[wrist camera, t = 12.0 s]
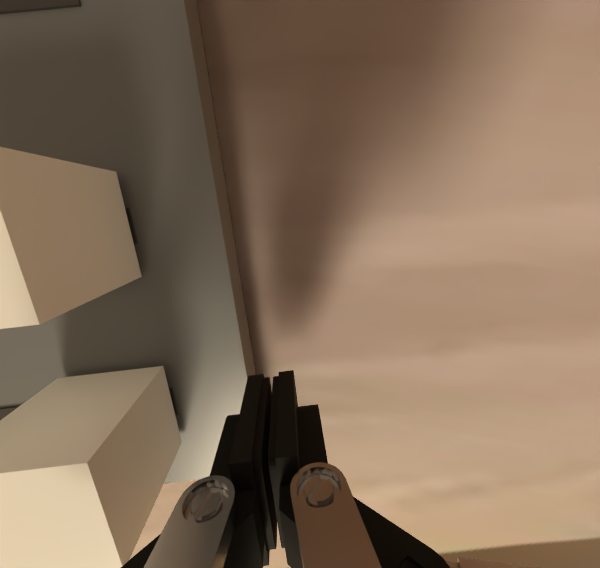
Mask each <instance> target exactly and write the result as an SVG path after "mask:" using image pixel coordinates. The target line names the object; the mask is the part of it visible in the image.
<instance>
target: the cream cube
mask: <svg viewBox="0 0 600 568" xmlns="http://www.w3.org/2000/svg"><path fill="white" fill-rule="evenodd" d="M181 443H182V441H181V437H180V433H179V429H178V424H177V420H176V416H175V412H174V408H173V404H172V400H171V396H170V391H169V387H168V383H167V379H166V375H165V371H164V367H163V366H158V367H149V368H140V369H132V370H123V371H115V372H106V373H97V374H89V375H80V376H72V377H63V378H57V379H56V380H54V381H53V382H52V383H50V384H49V385H48V386H46V387H45V388H44V389H42V390H41V391H40V392H38V393H37V394H35V395H34V396H33V397H31V398H30V399H29V400H27V401H26V402H25V403H23V404H22V405H21V406H19V407H18V408H17V409H15V410H14V411H12V412H11V413H10V414H8V415H7V416H6V417H4V418H3V419H2V420H0V568H121V567H122V566H123V565H124V564H125V563H127V562H128V561H129V559H130V557H131V555H132V552H133V550H134V548H135V546H136V543H137V541H138V539H139V537H140V534H141V532H142V530H143V528H144V526H145V523H146V521H147V519H148V517H149V514H150V512H151V510H152V508H153V506H154V503H155V501H156V499H157V497H158V494H159V492H160V490H161V488H162V485H163V483H164V481H165V479H166V477H167V474H168V472H169V470H170V468H171V465H172V463H173V461H174V459H175V457H176V454H177V452H178V450H179V448H180V445H181Z"/></svg>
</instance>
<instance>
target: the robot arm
mask: <svg viewBox="0 0 600 568" xmlns="http://www.w3.org/2000/svg"><path fill="white" fill-rule="evenodd" d="M277 522H278V528H279V534H280V541H281V547H282V548H285V551H286V557H287V563H288V565H289V566H290V567H291V568H540V567H533V566H525V565H517V564H510V563H502V562H495V561H487V560H480V559H471V558H465V557H458V562H452V561H445V560H444V559H443V558H442V557H441V556H440V555H439V554H437V553H436V552H435V551H434V550H433V549H431V548H430V547H428V546H427V545H425V544H424V543H422V542H421V541H419V540H418V539H416V538H415V537H413V536H412V535H410V534H409V533H407V532H405V531H404V530H402V529H401V528H399V527H398V526H396V525H395V524H393V523H392V522H390V521H389V520H387V519H386V518H384V517H383V516H381V515H380V514H378V513H377V512H375V511H374V510H372V509H371V508H369V507H368V506H366V505H365V504H363V503H362V502H360V501H359V500H357V499H356V498H354V497H353V496H352V493H351V491H350V488H349V486H348V483H347V481H346V478H345V477H344V475H343V473H342V472H341V471H340V470H339V469H338V468H337V467H335V466H333V465H331V464H328V462H327V456H326V450H325V444H324V438H323V432H322V426H321V420H320V414H319V408H318V404H317V405H309V406H301V407H298V403H297V395H296V387H295V379H294V372H293V370H292V371H284V372H279V376H275V377H273V389H272V391H271V384H270V378H269V377H267V378H264V375H263V374H259V375H250V376H248V378H247V383H246V387H245V392H244V396H243V401H242V405H241V410H240V414H235V415H228V416H227V417H226V420H225V423H224V427H223V430H222V434H221V437H220V441H219V444H218V448H217V452H216V455H215V459H214V462H213V466H212V469H211V473H210V476H207V477H205V478H202V479H200V480H198V481H196V482H195V483H193V484H192V485H191V486H190V487H189V488H187V489H186V490H185V491H184V493H183V494H182V496H181V497H180V499H179V500H178V502H177V504H176V506H175V508H174V510H173V512H172V514H171V516H170V518H169V520H168V522H167V523H166V525H165V527H164V529H163V531H162V533H161V534H160V535H159V536H158V537H156V538H155V539H154V540H153V541H152V542H150V543H149V544H148V545H147V546H146V547H145V548H143V549H142V550H141V551H140V552H139V553H137V554H136V555H135V556H134V557H133V558H131V559H130V560H129V561H128V562H127V563H125V564H124V565H123V566H122V567H121V568H263V566H266V565H269V551H270V549H276V544H277Z"/></svg>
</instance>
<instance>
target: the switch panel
mask: <svg viewBox="0 0 600 568" xmlns="http://www.w3.org/2000/svg"><path fill="white" fill-rule="evenodd" d="M0 147H4V148H9V149H13V150H18V151H23V152H27V153H32V154H36V155H41V156H46V157H50V158H55V159H60V160H64V161H69V162H73V163H78V164H83V165H87V166H92V167H96V168H101V169H106V170H110V171H115V172H116V173H117V177H118V181H119V185H120V189H121V193H122V197H123V202H124V206H125V210H126V214H127V218H128V222H129V226H130V230H131V235H132V239H133V243H134V247H135V251H136V255H137V259H138V264H139V268H140V272H141V276H142V277H140V278H138V279H136V280H134V281H132V282H129V283H127V284H125V285H123V286H121V287H119V288H117V289H114V290H112V291H110V292H108V293H106V294H104V295H102V296H100V297H97V298H95V299H93V300H91V301H89V302H87V303H85V304H82V305H80V306H78V307H76V308H74V309H72V310H70V311H68V312H65V313H63V314H61V315H59V316H57V317H55V318H53V319H50V320H48V321H46V322H44V323H42V324H40V325H32V326H23V327H14V328H5V329H0V420H2V419H3V418H4V417H6V416H7V415H8V414H10V413H11V412H12V411H14V410H15V409H17V408H18V407H19V406H21V405H22V404H23V403H25V402H26V401H27V400H29V399H30V398H31V397H33V396H34V395H35V394H37V393H38V392H40V391H41V390H42V389H44V388H45V387H46V386H48V385H49V384H50V383H52V382H53V381H54V380H56V379H57V378H63V377H72V376H80V375H89V374H97V373H106V372H115V371H123V370H132V369H140V368H149V367H158V366H163V367H164V371H165V375H166V379H167V383H168V387H169V391H170V396H171V400H172V404H173V408H174V412H175V416H176V420H177V424H178V429H179V433H180V437H181V441H182V443H181V445H180V448H179V450H178V452H177V454H176V457H175V459H174V461H173V463H172V465H171V468H170V470H169V472H168V474H167V477H166V479H165V481H164V483H163V484H166V483H175V482H183V481H191V480H199V479H202V478H205V477H207V476H210V473H211V469H212V466H213V462H214V459H215V455H216V452H217V448H218V444H219V441H220V437H221V434H222V430H223V427H224V423H225V420H226V417H227V416H228V415H235V414H240V410H241V405H242V401H243V396H244V392H245V387H246V383H247V378H248V376H250V375H256V373H255V367H254V360H253V354H252V348H251V341H250V335H249V329H248V322H247V316H246V310H245V304H244V297H243V291H242V285H241V278H240V272H239V266H238V259H237V253H236V247H235V241H234V234H233V228H232V222H231V215H230V209H229V203H228V196H227V190H226V184H225V178H224V171H223V165H222V159H221V152H220V146H219V140H218V133H217V127H216V121H215V115H214V108H213V102H212V96H211V89H210V83H209V77H208V70H207V64H206V58H205V52H204V45H203V39H202V33H201V26H200V20H199V14H198V8H197V1H196V0H0Z"/></svg>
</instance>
